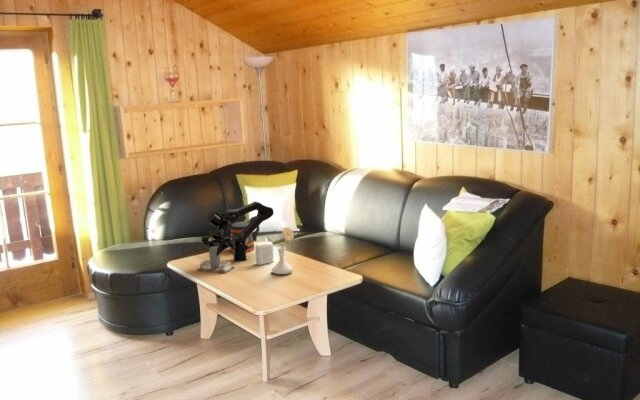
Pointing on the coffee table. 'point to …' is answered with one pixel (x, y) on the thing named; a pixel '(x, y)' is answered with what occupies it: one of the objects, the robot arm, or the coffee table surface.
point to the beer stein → (239, 227)
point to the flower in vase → (282, 265)
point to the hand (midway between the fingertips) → (213, 255)
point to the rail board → (222, 268)
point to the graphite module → (214, 257)
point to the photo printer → (264, 253)
